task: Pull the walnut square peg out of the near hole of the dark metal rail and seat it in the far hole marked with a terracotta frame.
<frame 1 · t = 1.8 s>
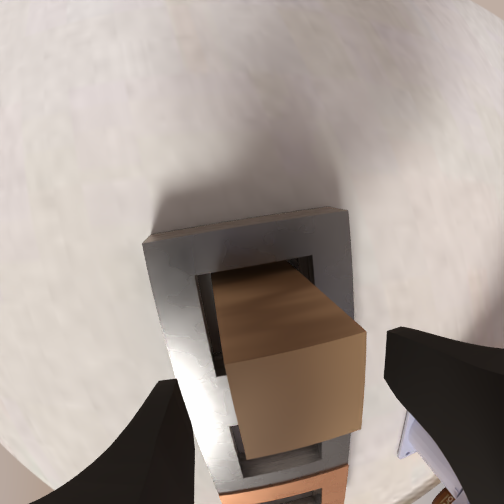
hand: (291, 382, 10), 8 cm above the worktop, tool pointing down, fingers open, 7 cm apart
rail: (271, 421, 19), on the worktop
food container: (443, 492, 29), on the worktop
peg: (253, 301, 17), resting in rail
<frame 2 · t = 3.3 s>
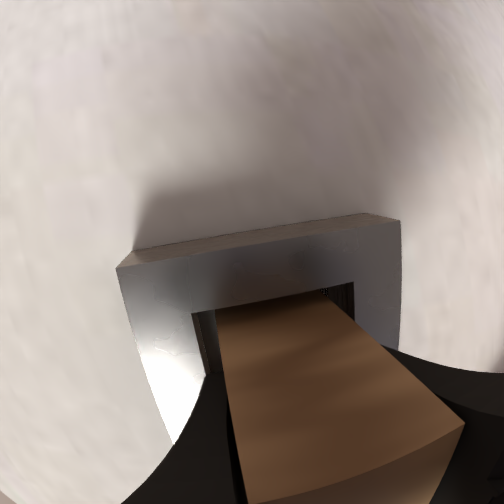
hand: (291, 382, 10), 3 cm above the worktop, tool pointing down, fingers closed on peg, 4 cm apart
rail: (286, 466, 15), on the worktop
peg: (269, 336, 13), resting in rail, touching gripper
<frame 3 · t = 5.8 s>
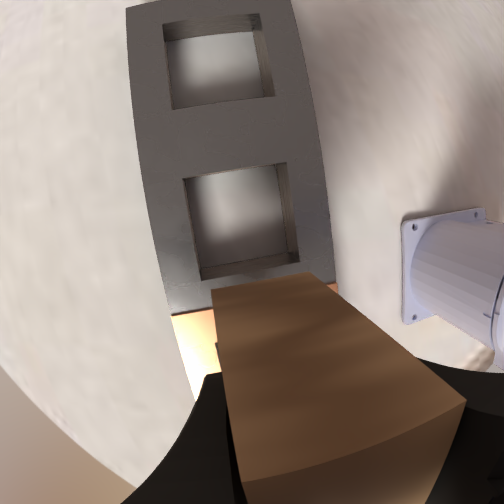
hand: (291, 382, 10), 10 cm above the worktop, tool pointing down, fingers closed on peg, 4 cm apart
rail: (237, 216, 19), on the worktop
peg: (267, 325, 13), point 7 cm above the worktop, touching gripper
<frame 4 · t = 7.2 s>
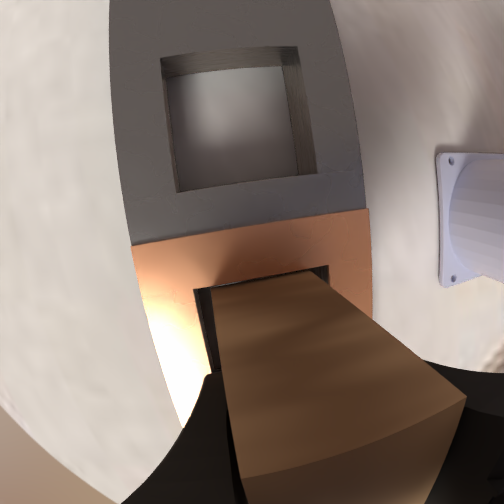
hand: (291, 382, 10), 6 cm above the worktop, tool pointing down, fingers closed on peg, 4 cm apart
rail: (232, 123, 13), on the worktop
peg: (266, 324, 13), point 2 cm above the worktop, touching gripper
when the fingers open (4 cm above the worktop, at t = 8.4 s): peg stays where it is, resting in rail.
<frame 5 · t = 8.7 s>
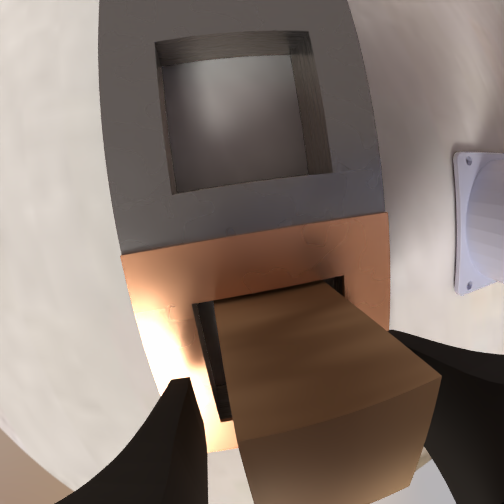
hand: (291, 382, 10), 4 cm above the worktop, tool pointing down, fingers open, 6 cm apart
rail: (235, 117, 12), on the worktop
peg: (263, 316, 14), resting in rail
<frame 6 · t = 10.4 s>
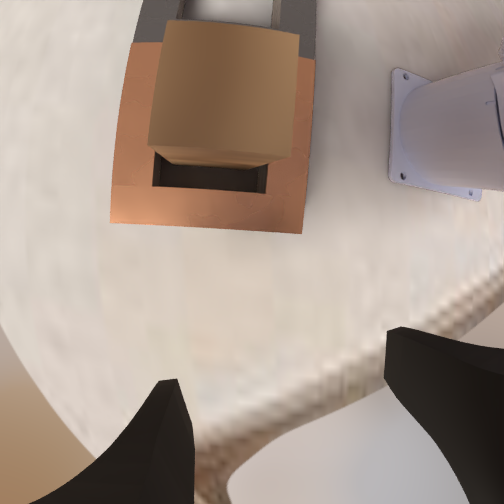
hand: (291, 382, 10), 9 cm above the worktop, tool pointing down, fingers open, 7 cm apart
rail: (228, 6, 15), on the worktop
peg: (213, 131, 17), resting in rail
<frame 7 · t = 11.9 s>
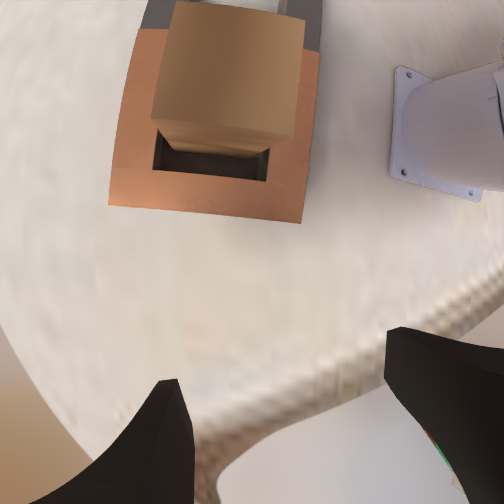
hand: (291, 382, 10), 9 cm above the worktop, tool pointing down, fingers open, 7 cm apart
peg: (215, 120, 17), resting in rail
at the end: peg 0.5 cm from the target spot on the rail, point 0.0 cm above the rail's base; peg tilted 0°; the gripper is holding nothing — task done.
